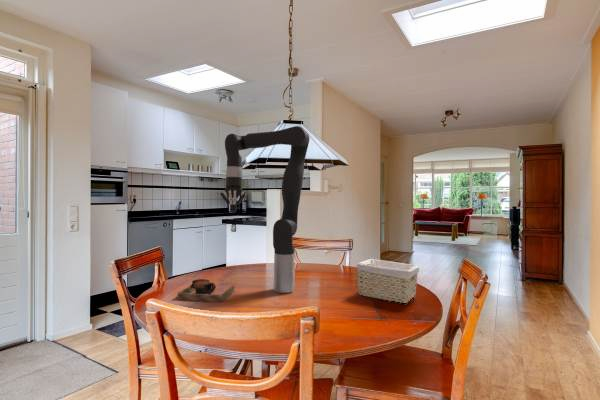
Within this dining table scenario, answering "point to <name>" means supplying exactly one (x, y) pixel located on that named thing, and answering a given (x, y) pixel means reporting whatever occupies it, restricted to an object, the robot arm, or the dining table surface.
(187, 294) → the wooden corral
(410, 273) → the storage basket
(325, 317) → the dining table surface
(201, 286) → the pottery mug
